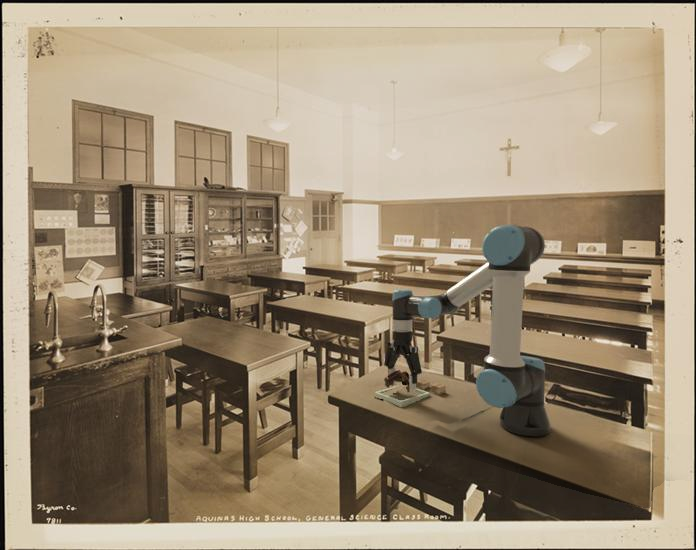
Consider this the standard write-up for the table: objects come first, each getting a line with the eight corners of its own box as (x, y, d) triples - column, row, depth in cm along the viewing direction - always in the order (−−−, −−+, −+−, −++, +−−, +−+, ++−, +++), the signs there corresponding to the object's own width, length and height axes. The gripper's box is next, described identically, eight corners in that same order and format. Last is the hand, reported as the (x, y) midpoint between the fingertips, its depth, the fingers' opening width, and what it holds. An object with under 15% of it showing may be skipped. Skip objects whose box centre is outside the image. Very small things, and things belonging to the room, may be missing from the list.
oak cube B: (429, 391, 163) (429, 381, 163) (423, 393, 161) (423, 383, 160) (422, 389, 166) (422, 379, 166) (415, 391, 164) (415, 381, 164)
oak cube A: (445, 395, 158) (445, 385, 158) (439, 397, 156) (439, 387, 156) (437, 393, 162) (437, 383, 161) (430, 395, 159) (430, 385, 159)
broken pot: (407, 396, 148) (396, 376, 148) (388, 402, 153) (377, 383, 154) (420, 381, 158) (409, 362, 158) (401, 387, 163) (391, 369, 164)
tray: (430, 397, 156) (430, 392, 155) (401, 407, 145) (401, 402, 145) (402, 389, 166) (402, 384, 166) (374, 397, 156) (374, 392, 156)
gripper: (432, 333, 149) (431, 393, 149) (388, 325, 166) (388, 380, 167) (418, 335, 144) (418, 398, 145) (374, 327, 161) (374, 383, 162)
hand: (402, 388), depth 156 cm, fingers closed on broken pot, 10 cm apart
